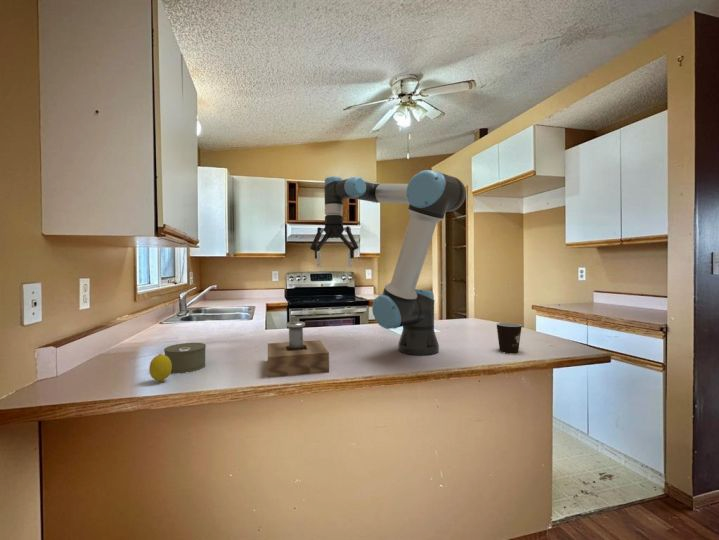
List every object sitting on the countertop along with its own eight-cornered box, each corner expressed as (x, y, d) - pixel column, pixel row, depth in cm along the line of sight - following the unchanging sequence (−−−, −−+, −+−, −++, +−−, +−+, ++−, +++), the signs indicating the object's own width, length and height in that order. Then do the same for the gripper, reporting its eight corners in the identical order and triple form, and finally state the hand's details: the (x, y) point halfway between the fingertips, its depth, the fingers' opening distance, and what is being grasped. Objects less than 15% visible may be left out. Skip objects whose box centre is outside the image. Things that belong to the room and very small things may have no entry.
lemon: (148, 381, 101) (148, 353, 101) (170, 377, 104) (170, 350, 104) (150, 386, 96) (150, 357, 96) (173, 382, 100) (172, 354, 99)
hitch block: (320, 357, 125) (320, 340, 125) (329, 372, 108) (328, 352, 108) (267, 361, 121) (267, 343, 121) (268, 377, 103) (267, 357, 103)
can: (207, 361, 121) (206, 341, 121) (205, 371, 110) (204, 349, 110) (167, 365, 117) (167, 344, 117) (161, 375, 106) (160, 353, 106)
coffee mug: (506, 355, 126) (506, 327, 126) (491, 349, 135) (491, 323, 134) (534, 352, 129) (534, 325, 129) (518, 347, 137) (518, 321, 137)
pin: (308, 364, 116) (307, 321, 116) (301, 369, 111) (300, 325, 110) (292, 363, 118) (291, 321, 118) (284, 368, 112) (283, 324, 112)
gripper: (365, 215, 147) (365, 266, 148) (309, 217, 154) (310, 266, 154) (360, 212, 140) (361, 266, 140) (302, 215, 146) (302, 266, 147)
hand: (334, 266), depth 147 cm, fingers open, 13 cm apart
